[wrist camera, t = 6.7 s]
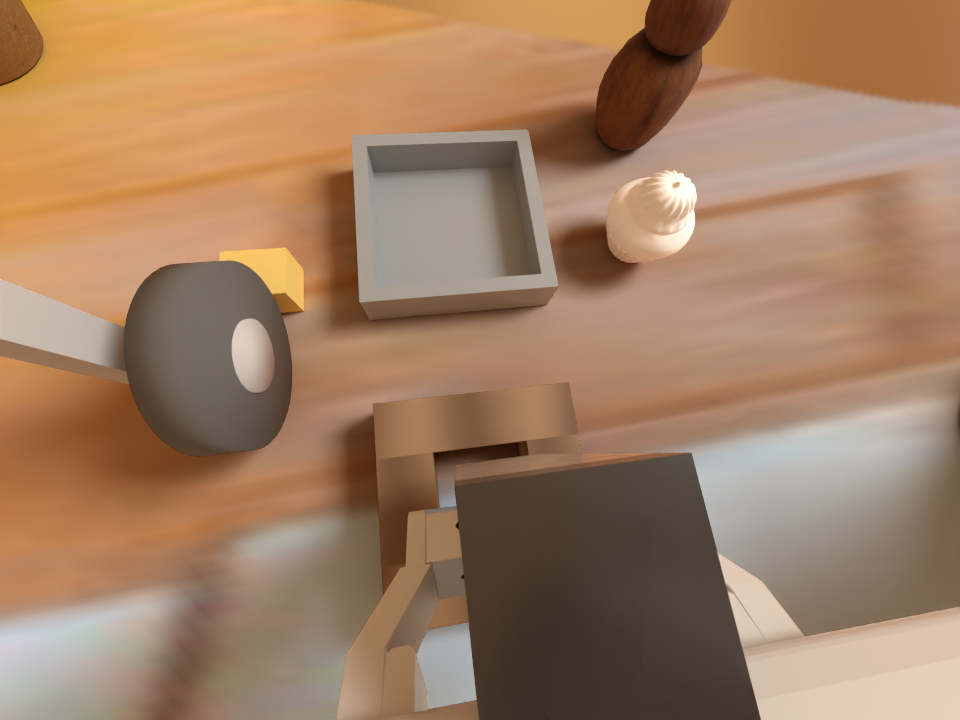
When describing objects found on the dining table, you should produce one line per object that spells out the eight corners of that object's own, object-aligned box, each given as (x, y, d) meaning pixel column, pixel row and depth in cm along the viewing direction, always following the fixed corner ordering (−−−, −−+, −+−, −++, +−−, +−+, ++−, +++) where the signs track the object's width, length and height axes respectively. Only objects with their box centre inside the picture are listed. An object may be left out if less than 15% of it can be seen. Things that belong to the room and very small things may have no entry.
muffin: (593, 279, 28) (638, 223, 21) (586, 211, 30) (626, 138, 23) (669, 280, 29) (737, 226, 22) (658, 213, 30) (718, 144, 23)
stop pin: (536, 454, 18) (691, 452, 6) (550, 542, 17) (767, 743, 5) (455, 465, 18) (454, 485, 6) (465, 555, 17) (487, 805, 5)
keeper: (555, 390, 26) (568, 382, 23) (588, 579, 23) (608, 596, 20) (382, 410, 24) (373, 403, 21) (394, 612, 21) (385, 637, 19)
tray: (520, 161, 30) (528, 129, 27) (546, 304, 27) (558, 286, 24) (361, 168, 29) (351, 135, 26) (369, 320, 26) (359, 302, 23)
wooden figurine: (616, 174, 31) (762, -73, 16) (571, 128, 32) (673, -145, 17) (669, 138, 32) (846, -118, 18) (625, 95, 33) (760, -181, 19)
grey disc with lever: (303, 270, 26) (126, 46, 12) (305, 449, 23) (67, 440, 9) (206, 277, 26) (-106, 47, 11) (194, 463, 23) (-260, 477, 8)
